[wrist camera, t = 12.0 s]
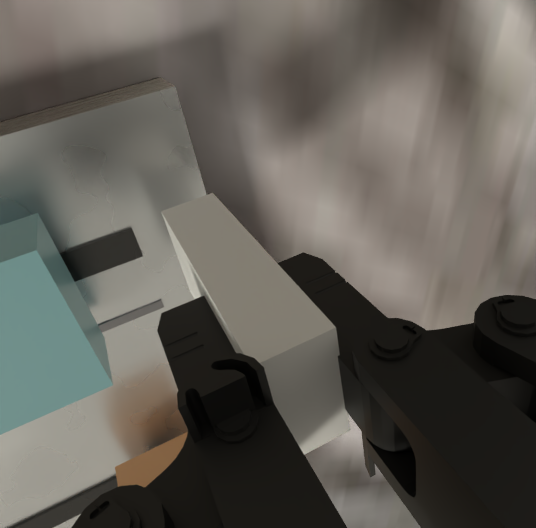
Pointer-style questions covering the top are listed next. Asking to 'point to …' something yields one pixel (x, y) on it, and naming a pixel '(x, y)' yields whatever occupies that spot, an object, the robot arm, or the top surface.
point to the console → (101, 284)
